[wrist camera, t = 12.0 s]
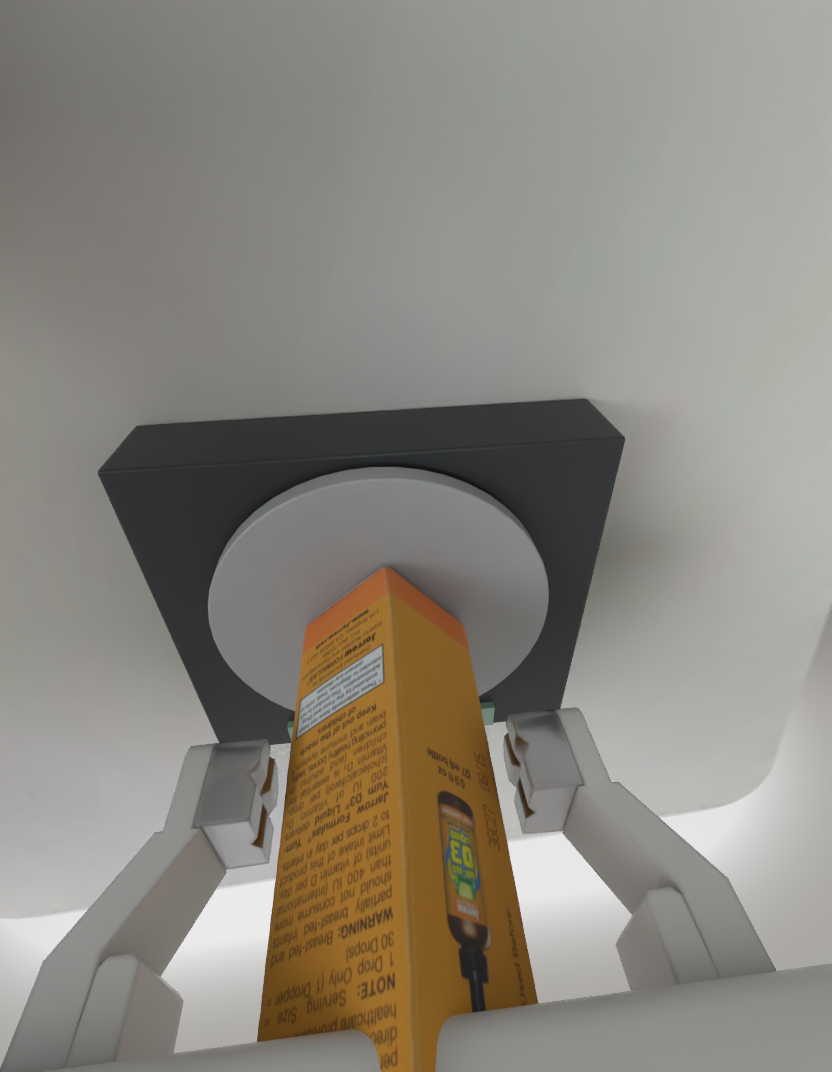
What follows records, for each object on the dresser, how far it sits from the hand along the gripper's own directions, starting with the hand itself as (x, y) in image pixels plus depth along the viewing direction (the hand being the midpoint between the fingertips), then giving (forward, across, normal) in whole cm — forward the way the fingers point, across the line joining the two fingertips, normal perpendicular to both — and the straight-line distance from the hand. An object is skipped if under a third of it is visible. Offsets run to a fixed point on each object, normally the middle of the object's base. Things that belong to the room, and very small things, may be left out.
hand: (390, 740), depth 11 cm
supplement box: (+4, 0, 0) cm, 4 cm away
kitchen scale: (+7, 0, +1) cm, 7 cm away
